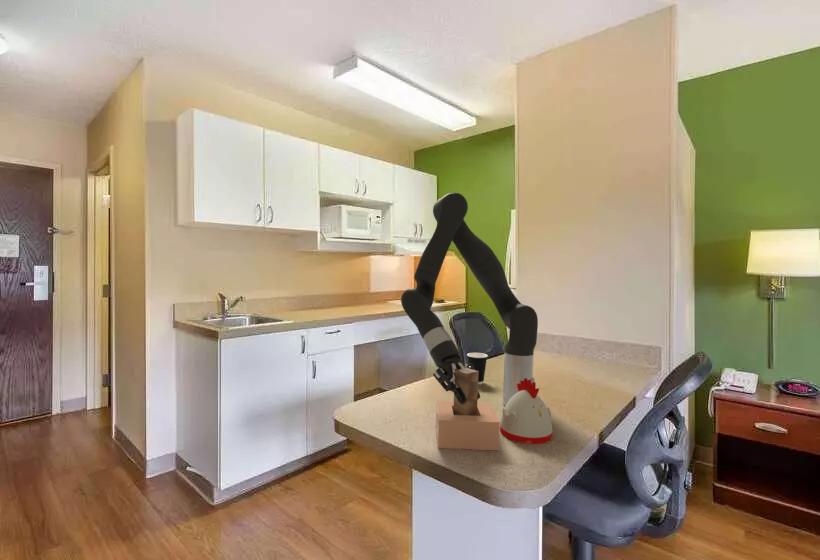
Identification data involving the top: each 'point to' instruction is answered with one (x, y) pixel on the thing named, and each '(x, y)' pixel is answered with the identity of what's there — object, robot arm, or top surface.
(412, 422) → the top surface
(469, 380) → the walnut bar
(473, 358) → the dixie cup
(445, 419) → the terracotta well block
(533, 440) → the kitchen timer
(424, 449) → the top surface
